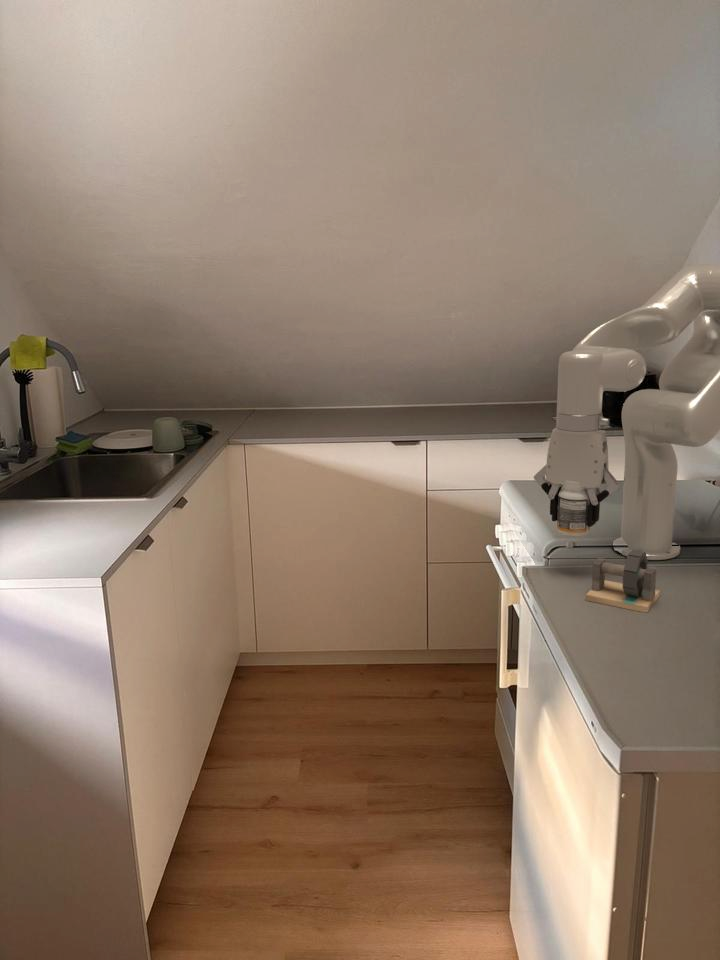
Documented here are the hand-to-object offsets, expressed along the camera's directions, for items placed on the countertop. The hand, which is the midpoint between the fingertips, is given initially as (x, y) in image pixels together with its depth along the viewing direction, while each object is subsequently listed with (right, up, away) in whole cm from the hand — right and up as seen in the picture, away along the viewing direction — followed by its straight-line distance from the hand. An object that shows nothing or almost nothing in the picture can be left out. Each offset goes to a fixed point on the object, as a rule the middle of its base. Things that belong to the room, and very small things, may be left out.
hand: (573, 521), depth 138 cm
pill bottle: (0, -2, +1) cm, 2 cm away
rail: (+6, -13, -9) cm, 16 cm away
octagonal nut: (+7, -11, -10) cm, 17 cm away
